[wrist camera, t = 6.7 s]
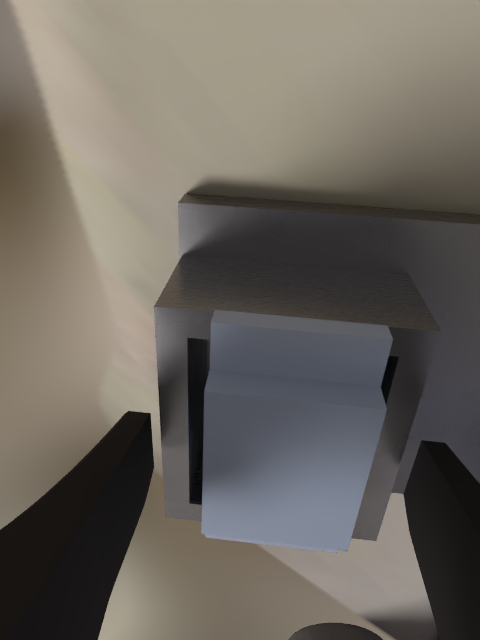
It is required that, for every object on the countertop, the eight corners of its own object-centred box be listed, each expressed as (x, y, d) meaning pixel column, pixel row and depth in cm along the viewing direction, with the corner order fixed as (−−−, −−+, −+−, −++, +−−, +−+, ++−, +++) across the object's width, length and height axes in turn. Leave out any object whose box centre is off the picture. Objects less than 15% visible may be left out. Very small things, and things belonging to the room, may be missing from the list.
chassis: (550, 489, 19) (618, 600, 15) (188, 452, 19) (164, 547, 16) (697, 230, 13) (864, 299, 9) (185, 193, 14) (146, 243, 10)
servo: (325, 455, 17) (337, 585, 13) (222, 444, 18) (200, 568, 13) (364, 264, 14) (400, 359, 9) (231, 253, 14) (205, 341, 9)
